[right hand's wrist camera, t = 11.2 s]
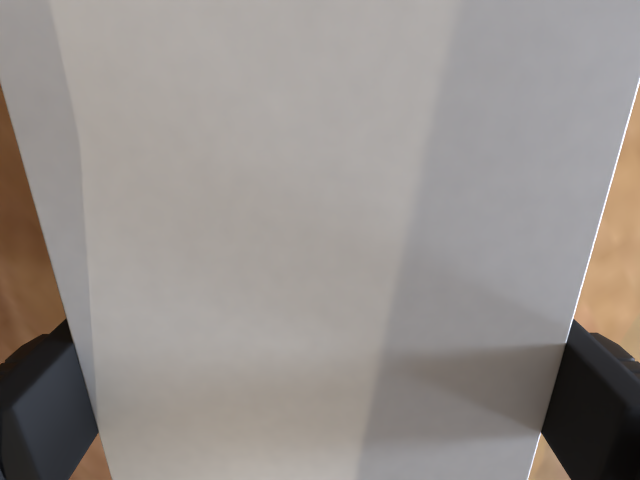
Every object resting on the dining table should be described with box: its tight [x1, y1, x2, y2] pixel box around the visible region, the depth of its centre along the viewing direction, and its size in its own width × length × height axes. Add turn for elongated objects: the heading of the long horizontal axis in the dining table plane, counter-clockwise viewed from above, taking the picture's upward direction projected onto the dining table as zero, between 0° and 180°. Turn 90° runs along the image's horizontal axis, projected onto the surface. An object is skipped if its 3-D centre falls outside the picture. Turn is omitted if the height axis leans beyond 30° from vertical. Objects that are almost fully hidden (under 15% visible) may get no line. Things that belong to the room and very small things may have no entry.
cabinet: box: [0, 0, 640, 480], centre depth 11 cm, size 19×11×8 cm, turn 0°
